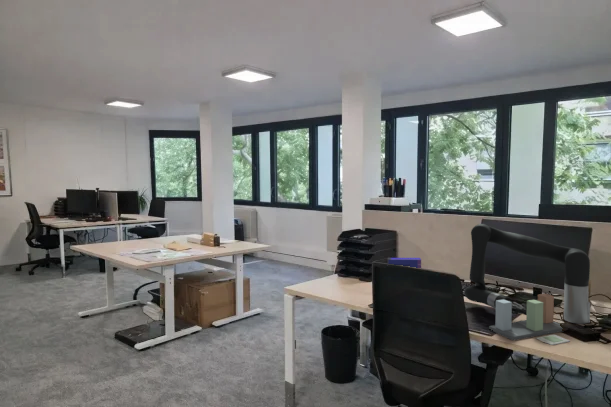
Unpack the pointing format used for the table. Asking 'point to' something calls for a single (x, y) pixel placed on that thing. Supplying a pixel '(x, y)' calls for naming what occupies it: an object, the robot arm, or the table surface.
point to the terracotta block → (547, 307)
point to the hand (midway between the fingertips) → (530, 313)
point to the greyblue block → (503, 314)
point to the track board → (526, 330)
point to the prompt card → (553, 339)
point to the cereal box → (405, 262)
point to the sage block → (534, 315)
